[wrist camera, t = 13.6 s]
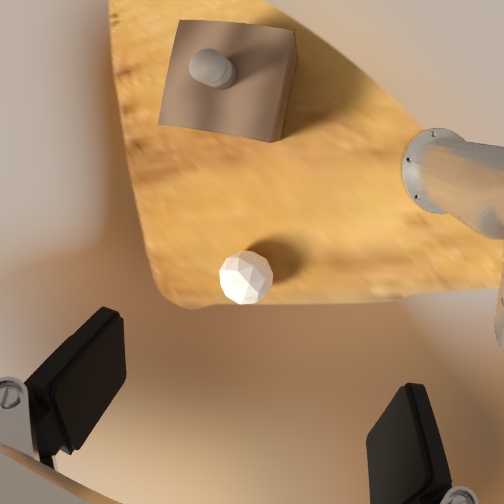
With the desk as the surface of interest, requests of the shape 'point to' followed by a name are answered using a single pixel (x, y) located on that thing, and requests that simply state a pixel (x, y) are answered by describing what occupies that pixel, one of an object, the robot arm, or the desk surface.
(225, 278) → the geometric ball
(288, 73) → the walnut cover
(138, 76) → the desk surface
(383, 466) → the robot arm
